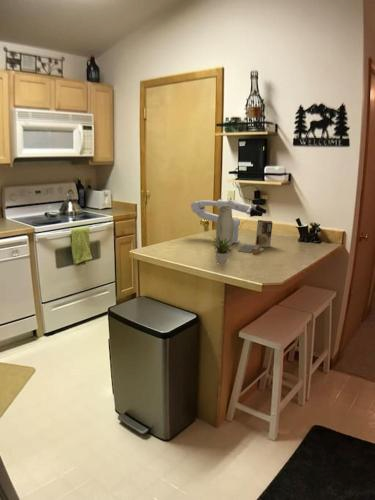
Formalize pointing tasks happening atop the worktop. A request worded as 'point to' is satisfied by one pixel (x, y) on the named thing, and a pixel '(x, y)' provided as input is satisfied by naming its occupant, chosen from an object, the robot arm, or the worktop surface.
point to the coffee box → (263, 233)
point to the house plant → (221, 250)
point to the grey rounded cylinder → (225, 225)
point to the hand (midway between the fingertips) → (264, 213)
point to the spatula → (257, 249)
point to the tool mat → (247, 248)
